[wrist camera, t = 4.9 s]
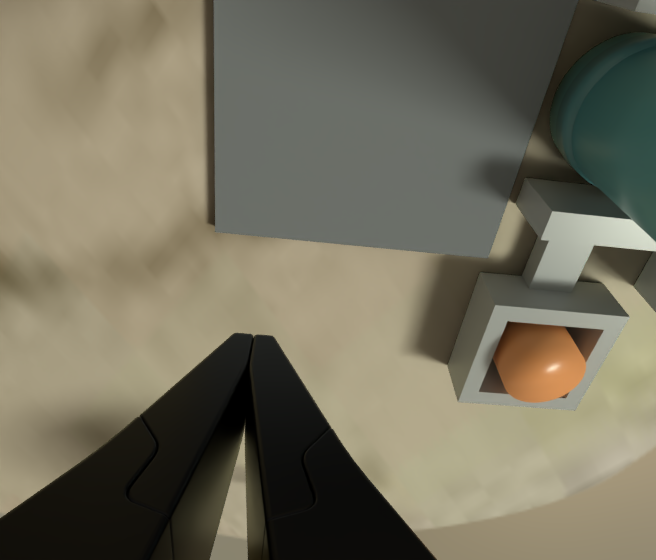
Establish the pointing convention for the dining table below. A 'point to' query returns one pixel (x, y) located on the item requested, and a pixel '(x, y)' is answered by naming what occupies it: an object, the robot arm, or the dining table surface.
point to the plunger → (538, 361)
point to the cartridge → (613, 123)
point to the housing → (553, 284)
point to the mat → (378, 117)
